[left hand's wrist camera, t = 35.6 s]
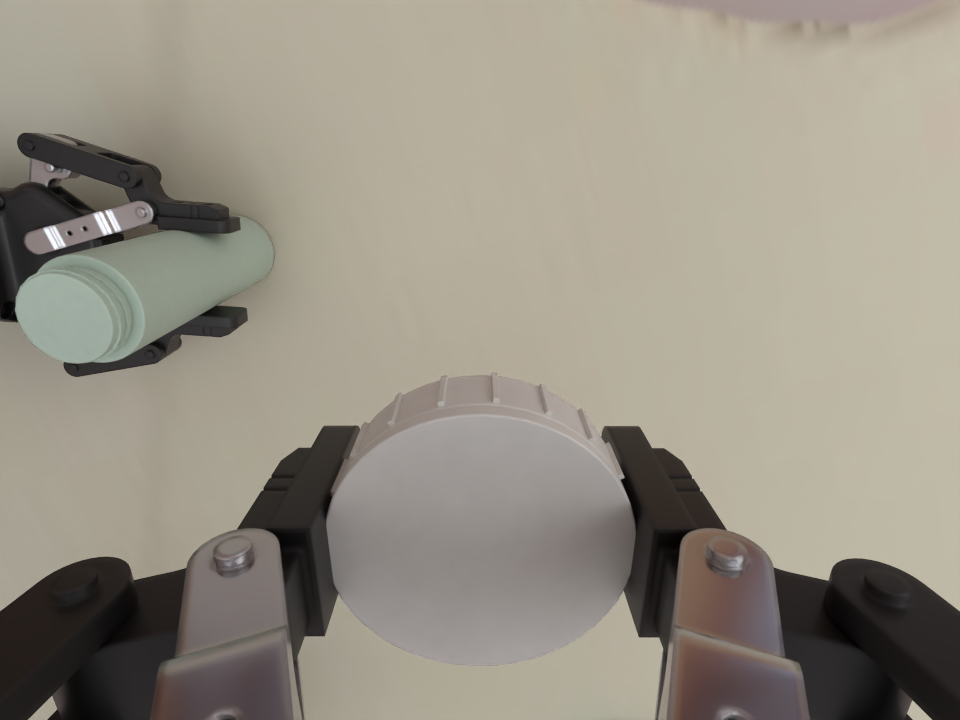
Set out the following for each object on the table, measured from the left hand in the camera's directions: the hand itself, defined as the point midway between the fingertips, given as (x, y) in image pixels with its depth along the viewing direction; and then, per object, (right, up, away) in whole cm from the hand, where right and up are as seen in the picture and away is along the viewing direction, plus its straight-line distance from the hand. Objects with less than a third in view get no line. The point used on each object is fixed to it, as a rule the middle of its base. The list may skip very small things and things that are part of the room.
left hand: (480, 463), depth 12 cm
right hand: (-14, +7, +19) cm, 25 cm away
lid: (0, -1, -2) cm, 3 cm away
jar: (-17, +10, +26) cm, 32 cm away
